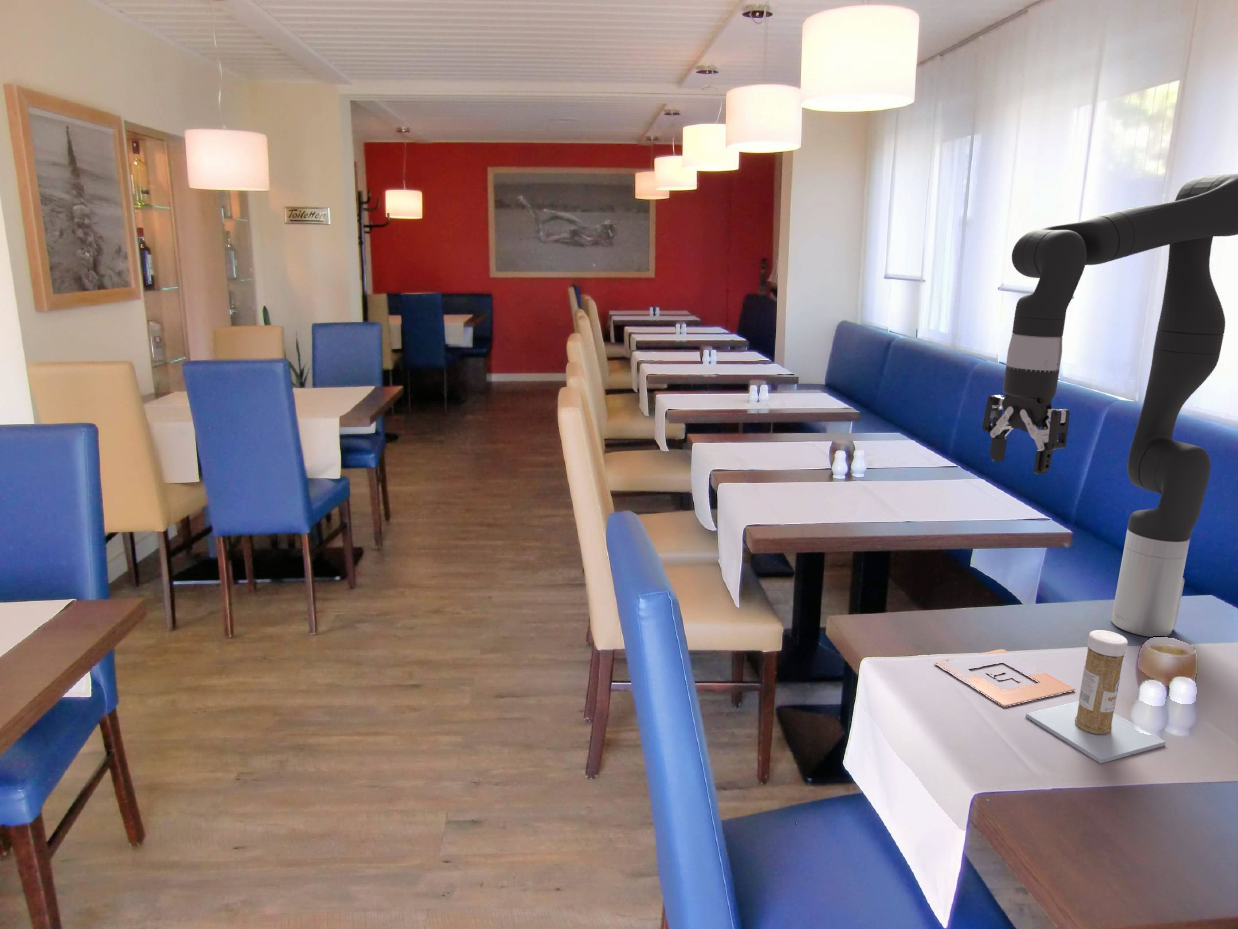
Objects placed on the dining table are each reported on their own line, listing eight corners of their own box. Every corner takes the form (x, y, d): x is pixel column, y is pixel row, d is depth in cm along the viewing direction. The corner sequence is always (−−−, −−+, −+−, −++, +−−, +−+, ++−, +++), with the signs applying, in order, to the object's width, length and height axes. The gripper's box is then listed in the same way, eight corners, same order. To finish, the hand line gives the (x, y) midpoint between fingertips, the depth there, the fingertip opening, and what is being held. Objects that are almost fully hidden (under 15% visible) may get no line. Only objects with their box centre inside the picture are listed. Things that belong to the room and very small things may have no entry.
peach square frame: (1002, 651, 144) (1002, 648, 143) (1075, 691, 131) (1075, 689, 131) (934, 664, 138) (934, 662, 138) (1003, 708, 126) (1004, 705, 126)
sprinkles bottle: (1114, 738, 118) (1132, 646, 114) (1076, 732, 119) (1093, 640, 116) (1107, 721, 122) (1124, 631, 118) (1071, 715, 123) (1086, 626, 120)
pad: (1087, 702, 128) (1088, 698, 128) (1165, 745, 117) (1165, 741, 117) (1025, 717, 123) (1026, 713, 123) (1100, 763, 113) (1101, 759, 113)
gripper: (1090, 370, 130) (1073, 476, 134) (1014, 358, 143) (1001, 455, 147) (1053, 372, 127) (1036, 480, 131) (979, 359, 140) (966, 458, 144)
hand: (1018, 467), depth 139 cm, fingers open, 8 cm apart
